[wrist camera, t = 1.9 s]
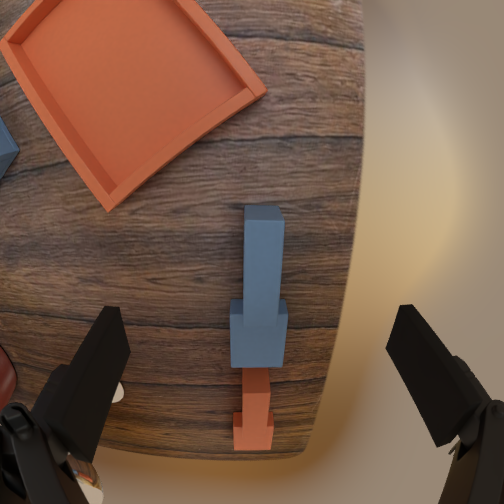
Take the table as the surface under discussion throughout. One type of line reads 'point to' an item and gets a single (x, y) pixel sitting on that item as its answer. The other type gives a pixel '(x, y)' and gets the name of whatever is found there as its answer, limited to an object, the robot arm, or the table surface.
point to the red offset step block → (254, 412)
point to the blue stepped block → (260, 293)
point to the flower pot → (6, 379)
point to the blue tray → (6, 148)
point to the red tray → (126, 83)
